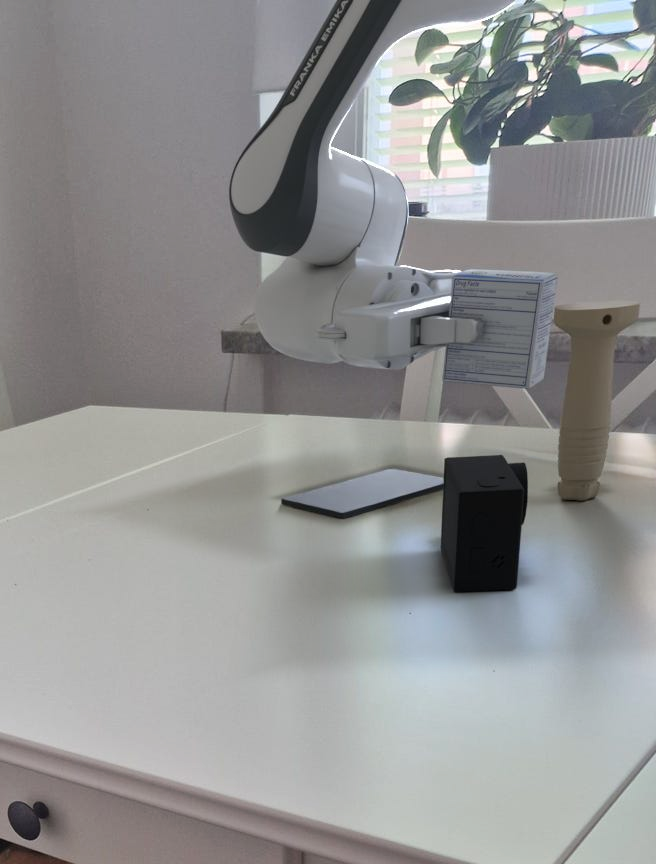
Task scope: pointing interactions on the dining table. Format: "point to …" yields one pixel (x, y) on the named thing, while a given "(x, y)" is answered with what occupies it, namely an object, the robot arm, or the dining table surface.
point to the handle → (588, 391)
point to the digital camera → (483, 521)
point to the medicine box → (502, 327)
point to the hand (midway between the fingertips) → (505, 324)
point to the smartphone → (365, 493)
